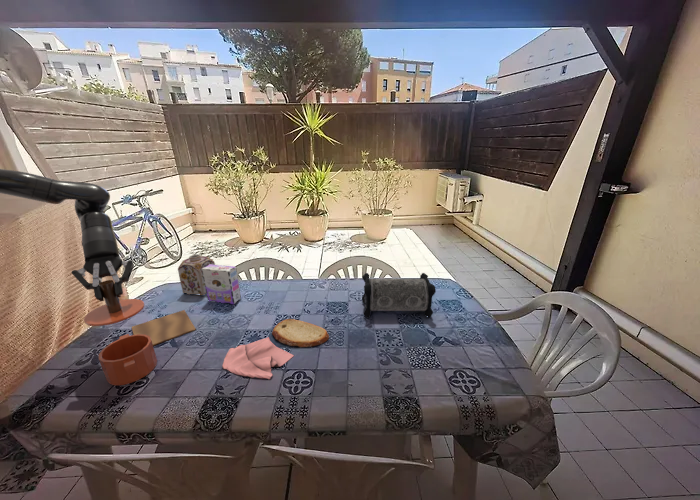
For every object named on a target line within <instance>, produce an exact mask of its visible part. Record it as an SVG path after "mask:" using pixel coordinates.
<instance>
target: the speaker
mask: <svg viewBox="0 0 700 500" xmlns="http://www.w3.org/2000/svg"><path fill="white" fill-rule="evenodd" d="M362 280H363V282H364V286H363V290H364V291H363V292H364V293H363V295H362V297H361V303H363V305H364V308H365V310H364V312H363V313H362V314H363V316H364V317H365V318H366V319H368V318H370V317H371V314H372V312H424V316H425V315H426V316H428V317H429V318H430V317H432V316H433V314H434V311H433V309H432V303H433V297H434V296H435V294H436V292H437V291H436V285H434V284H433V283H431V282H430V280H429V275H428V274H427V273H425V272H421V274H420V276H419V278H370V274H369V273H368V272H366V273H364V274H363V275H362ZM426 316H425V317H426Z"/></svg>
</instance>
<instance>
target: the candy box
mask: <svg viewBox="0 0 700 500" xmlns="http://www.w3.org/2000/svg"><path fill="white" fill-rule="evenodd" d="M237 269H238V268H237V266H234V265H233V266H232V265H222V264H215V265H213V264H210V265H208V266H206V267H204V268H202V274H203V278H204V283H205V288H206V293H207V294H206V298H207V301H208V300H209V301H208V302H210V301H215V302H214V303H219V302H221V303H220V304H226V303H228V304H227V305H235V304H237V303H238V302H239V301H240V300H241V299H242V296H241V289H240V281H239V275H238V270H237ZM240 298H241V299H240ZM239 299H240V300H239ZM238 300H239V301H238ZM237 301H238V302H237Z"/></svg>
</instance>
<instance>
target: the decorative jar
mask: <svg viewBox="0 0 700 500" xmlns="http://www.w3.org/2000/svg"><path fill="white" fill-rule="evenodd" d="M210 264H213V265H216V263H215V261H214V260H213V259H212V258H210V257H209V256H205V255H201V254H192V255H190V256H188V258H186V259H184V260H182V261H181V263H180V264H179V266H178V267H177V271H178V278H179V282H180V286H181V291H182V294H183V293H187V294H186V295H190V294H200V295H205V294H206V288H205V283H204V278H203V274H202V268H204V267H206V266H208V265H210ZM200 295H199V296H200ZM206 295H207V294H206ZM206 295H205V296H206Z"/></svg>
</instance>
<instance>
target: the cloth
mask: <svg viewBox="0 0 700 500" xmlns="http://www.w3.org/2000/svg"><path fill="white" fill-rule="evenodd" d="M293 357H295V355H294V354H293V353H290V352H288V351H286V350H284V349H282V348H280V347H279V346H276V345H275V344H274V343H273V342H272V341H271V339H270V337H269V336H268V337H265V338H261V339H259V340H256V341H252V342H250V343H246V344H240V345H238V346H236V347H231V348H229V349H228V351H227V353H226V354H225V357H224V358H223V362H222V366H221V367H222V369H223V370H227V372H230V373H232V374H235V375H237V376H242V377H245V378H246V377H247V378H248V377H249V378H252V379H253V378H254V379H266V380H267V379H268V380H271V378H272V377H273V373H272V368H275V367H276V368H280V367H282V366H284V365H285V364H286V363H288V362H289V361H290V360H292V358H293Z"/></svg>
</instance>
